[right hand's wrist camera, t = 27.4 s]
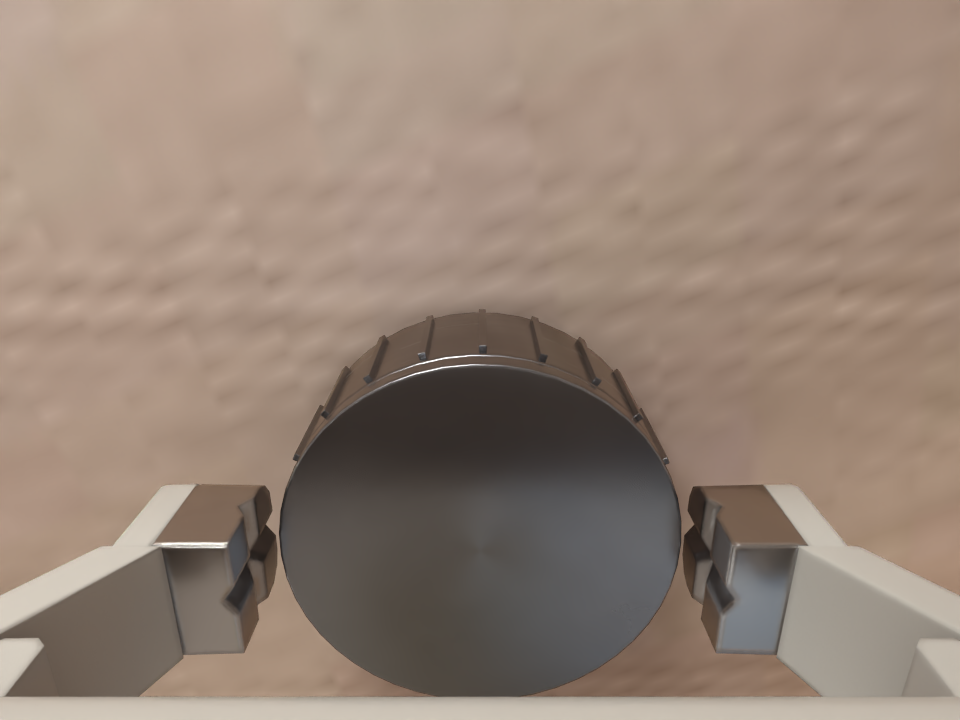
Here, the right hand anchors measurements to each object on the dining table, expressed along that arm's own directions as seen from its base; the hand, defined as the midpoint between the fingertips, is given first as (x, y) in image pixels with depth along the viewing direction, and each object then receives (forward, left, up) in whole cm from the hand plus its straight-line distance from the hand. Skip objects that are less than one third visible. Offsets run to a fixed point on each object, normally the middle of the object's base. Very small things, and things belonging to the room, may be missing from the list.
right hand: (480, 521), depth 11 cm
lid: (0, 0, 0) cm, 0 cm away
